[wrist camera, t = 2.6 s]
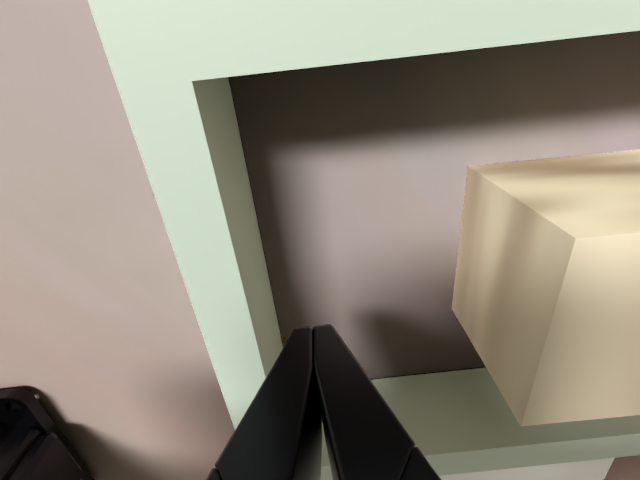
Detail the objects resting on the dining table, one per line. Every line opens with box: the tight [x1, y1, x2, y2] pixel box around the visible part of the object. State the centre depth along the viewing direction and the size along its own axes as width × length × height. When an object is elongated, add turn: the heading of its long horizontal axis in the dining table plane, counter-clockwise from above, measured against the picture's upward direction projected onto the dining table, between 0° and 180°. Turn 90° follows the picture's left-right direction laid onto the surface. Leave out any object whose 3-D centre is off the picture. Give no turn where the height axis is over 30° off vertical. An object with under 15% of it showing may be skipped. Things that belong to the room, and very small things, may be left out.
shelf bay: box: [87, 0, 640, 480], centre depth 9 cm, size 16×13×3 cm
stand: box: [439, 458, 615, 480], centre depth 15 cm, size 10×7×2 cm
